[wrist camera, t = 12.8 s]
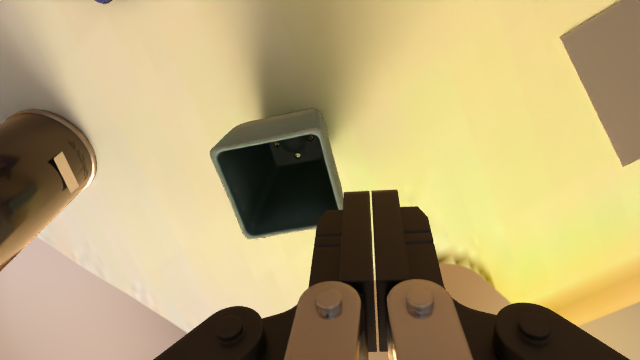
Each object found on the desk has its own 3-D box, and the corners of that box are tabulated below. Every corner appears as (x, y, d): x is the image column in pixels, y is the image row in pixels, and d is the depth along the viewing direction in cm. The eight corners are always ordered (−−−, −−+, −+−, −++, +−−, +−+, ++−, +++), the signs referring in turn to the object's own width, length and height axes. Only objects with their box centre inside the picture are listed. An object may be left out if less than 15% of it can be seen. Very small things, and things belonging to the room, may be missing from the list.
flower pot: (328, 84, 38) (321, 127, 31) (349, 169, 43) (347, 225, 35) (235, 105, 40) (206, 149, 32) (265, 185, 44) (245, 241, 37)
